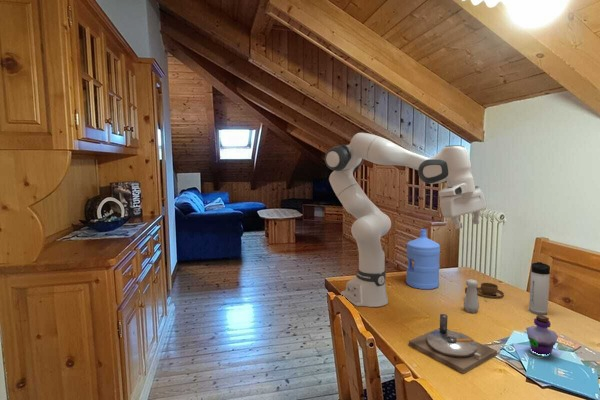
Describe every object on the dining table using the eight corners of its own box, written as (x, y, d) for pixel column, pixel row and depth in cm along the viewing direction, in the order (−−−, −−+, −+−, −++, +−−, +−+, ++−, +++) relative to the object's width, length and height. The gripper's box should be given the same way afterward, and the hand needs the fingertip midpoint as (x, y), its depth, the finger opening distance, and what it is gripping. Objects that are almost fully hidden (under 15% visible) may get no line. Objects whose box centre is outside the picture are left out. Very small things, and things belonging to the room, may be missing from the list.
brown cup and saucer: (512, 302, 156) (513, 289, 155) (466, 302, 156) (466, 289, 156) (492, 288, 173) (493, 276, 173) (450, 288, 174) (451, 277, 173)
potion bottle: (521, 352, 115) (523, 316, 113) (528, 342, 121) (530, 308, 119) (553, 363, 108) (556, 325, 107) (559, 352, 114) (561, 316, 113)
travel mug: (545, 310, 147) (548, 262, 144) (548, 316, 141) (552, 267, 138) (527, 307, 149) (530, 261, 147) (530, 313, 143) (533, 265, 141)
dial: (439, 358, 109) (439, 335, 108) (420, 334, 124) (420, 314, 123) (486, 356, 110) (487, 333, 109) (462, 333, 124) (462, 312, 124)
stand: (408, 345, 120) (408, 337, 120) (441, 330, 130) (441, 323, 130) (463, 373, 104) (463, 365, 103) (496, 355, 113) (497, 347, 113)
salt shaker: (480, 314, 143) (481, 283, 142) (465, 313, 145) (466, 282, 143) (476, 308, 149) (477, 278, 148) (461, 307, 150) (462, 277, 149)
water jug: (441, 282, 182) (443, 228, 179) (435, 292, 168) (436, 233, 165) (410, 277, 190) (411, 225, 187) (402, 286, 177) (403, 230, 174)
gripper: (472, 186, 137) (478, 221, 137) (435, 193, 128) (441, 231, 127) (487, 184, 131) (493, 221, 131) (449, 191, 122) (456, 231, 122)
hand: (467, 226), depth 129 cm, fingers open, 8 cm apart
